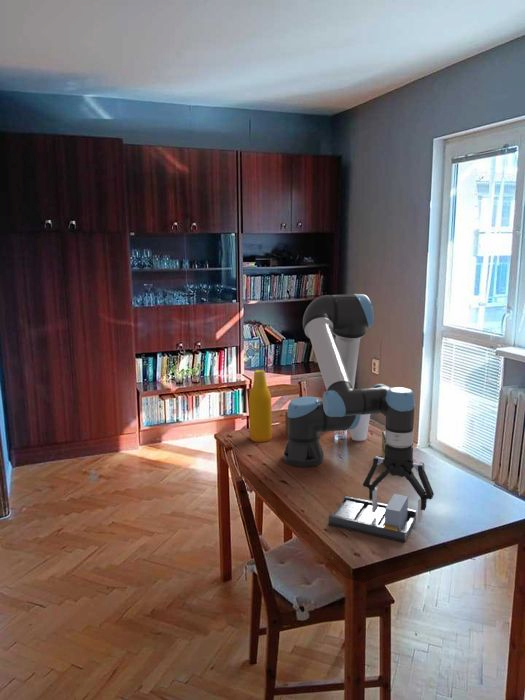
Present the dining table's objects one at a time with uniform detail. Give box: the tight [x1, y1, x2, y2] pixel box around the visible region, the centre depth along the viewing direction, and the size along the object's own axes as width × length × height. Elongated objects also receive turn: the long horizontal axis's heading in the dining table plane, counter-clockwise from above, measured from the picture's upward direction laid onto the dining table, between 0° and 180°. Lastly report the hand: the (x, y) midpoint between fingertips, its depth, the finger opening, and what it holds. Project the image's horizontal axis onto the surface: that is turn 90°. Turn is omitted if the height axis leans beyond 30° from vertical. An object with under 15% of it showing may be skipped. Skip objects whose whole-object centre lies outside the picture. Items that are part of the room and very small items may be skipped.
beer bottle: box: [248, 369, 273, 443], centre depth 229 cm, size 9×9×29 cm
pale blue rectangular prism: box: [385, 493, 409, 530], centre depth 158 cm, size 4×10×7 cm, turn 153°
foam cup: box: [349, 414, 372, 442], centre depth 229 cm, size 10×9×13 cm
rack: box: [328, 495, 417, 543], centre depth 162 cm, size 22×14×4 cm, turn 63°
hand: (396, 514), depth 158 cm, fingers open, 12 cm apart
